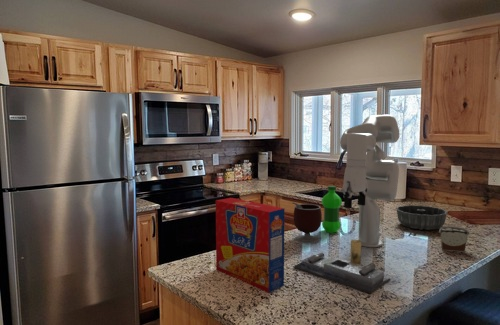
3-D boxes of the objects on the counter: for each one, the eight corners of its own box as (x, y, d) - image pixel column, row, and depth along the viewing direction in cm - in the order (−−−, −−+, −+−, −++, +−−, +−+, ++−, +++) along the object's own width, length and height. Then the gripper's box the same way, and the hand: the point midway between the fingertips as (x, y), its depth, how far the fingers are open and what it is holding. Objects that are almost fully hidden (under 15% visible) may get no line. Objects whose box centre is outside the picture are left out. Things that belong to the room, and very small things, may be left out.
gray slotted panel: (316, 257, 151) (317, 244, 150) (390, 279, 128) (390, 264, 128) (294, 268, 139) (294, 253, 139) (370, 294, 117) (370, 277, 116)
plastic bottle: (332, 235, 183) (333, 188, 181) (317, 230, 192) (318, 185, 189) (344, 232, 189) (345, 186, 187) (329, 227, 197) (330, 184, 195)
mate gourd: (311, 234, 185) (312, 197, 183) (326, 242, 172) (327, 202, 170) (285, 238, 179) (285, 199, 177) (299, 246, 166) (300, 205, 164)
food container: (464, 247, 164) (465, 226, 163) (468, 252, 158) (469, 230, 157) (435, 245, 167) (436, 225, 166) (438, 249, 161) (439, 228, 160)
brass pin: (353, 262, 145) (353, 239, 144) (362, 265, 142) (363, 241, 141) (348, 265, 142) (349, 241, 141) (357, 268, 140) (358, 243, 139)
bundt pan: (387, 226, 201) (387, 209, 201) (407, 218, 219) (408, 202, 218) (435, 236, 182) (436, 217, 181) (453, 227, 199) (454, 209, 198)
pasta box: (216, 269, 138) (215, 200, 136) (231, 264, 144) (231, 197, 141) (268, 293, 118) (269, 212, 116) (283, 285, 124) (284, 208, 121)
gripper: (359, 163, 148) (358, 202, 149) (335, 164, 137) (334, 207, 138) (376, 164, 143) (374, 205, 144) (352, 165, 131) (350, 210, 132)
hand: (354, 206), depth 141 cm, fingers open, 9 cm apart
